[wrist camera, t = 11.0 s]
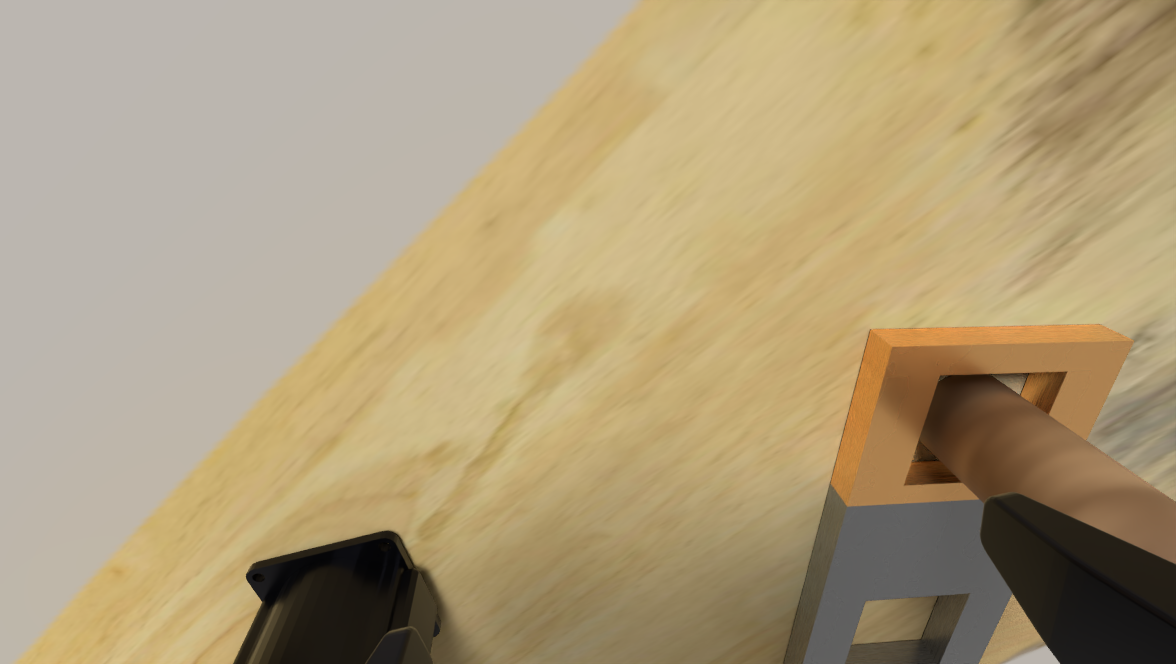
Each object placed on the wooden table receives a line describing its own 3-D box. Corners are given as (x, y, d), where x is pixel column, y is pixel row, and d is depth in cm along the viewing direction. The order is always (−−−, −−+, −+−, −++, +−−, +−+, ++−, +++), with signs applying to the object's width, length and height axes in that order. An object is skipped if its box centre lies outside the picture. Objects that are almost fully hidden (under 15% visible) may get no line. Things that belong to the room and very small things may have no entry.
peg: (933, 463, 26) (1366, 894, 13) (897, 408, 25) (1348, 834, 11) (1014, 413, 25) (1568, 817, 12) (983, 353, 24) (1580, 740, 10)
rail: (953, 652, 33) (971, 677, 31) (782, 666, 32) (794, 693, 30) (1099, 324, 24) (1134, 340, 22) (870, 329, 23) (892, 346, 21)
